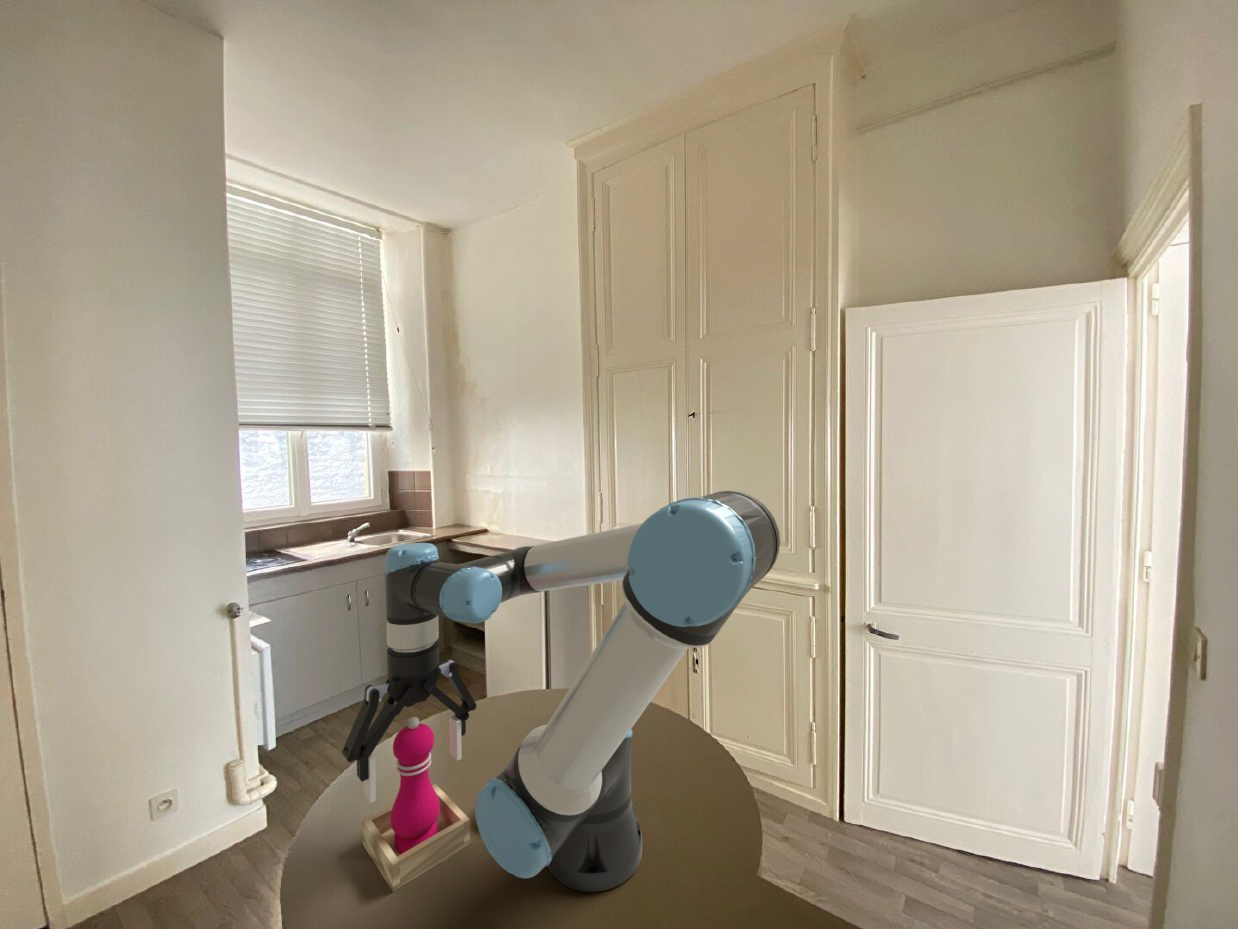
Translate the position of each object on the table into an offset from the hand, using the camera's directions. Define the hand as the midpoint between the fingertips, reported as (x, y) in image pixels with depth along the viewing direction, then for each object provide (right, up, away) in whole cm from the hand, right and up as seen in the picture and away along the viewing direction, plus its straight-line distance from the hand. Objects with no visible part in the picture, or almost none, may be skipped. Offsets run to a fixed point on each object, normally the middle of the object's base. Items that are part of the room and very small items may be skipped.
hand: (415, 775), depth 79 cm
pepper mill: (0, -11, 0) cm, 11 cm away
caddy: (0, -11, 0) cm, 11 cm away
